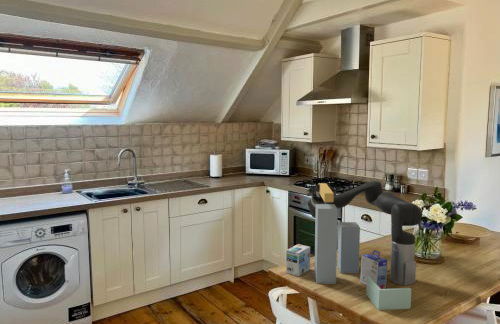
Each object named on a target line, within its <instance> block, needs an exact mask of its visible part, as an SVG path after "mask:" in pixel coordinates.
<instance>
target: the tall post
mask: <svg viewBox="0 0 500 324" xmlns="http://www.w3.org/2000/svg"><path fill="white" fill-rule="evenodd" d="M338 211H339V210H338V209H337V207H336V206H335V204H316V217H315V218H314V219H315V224H314V225H315V228H314V229H315V230H314V231H315V232H314V278H315V282H316V284H328V285H329V284H331V285H332V284H335V285H336V284H337V258H338Z"/></svg>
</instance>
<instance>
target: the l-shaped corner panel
mask: <svg viewBox="0 0 500 324" xmlns="http://www.w3.org/2000/svg"><path fill="white" fill-rule="evenodd" d="M365 295H366V296H367V297H368V299H369V300H370V301H371V303H372V304H373V305H374V306H375V307H376V309H377V310H378V311H386V310H405V309H406V310H409V309H411V306H412V305H411V303H412V288H411V287H403V288H402V287H401V288H398V287H397V288H386V289H380V287H379V286H378V285H377V284H376V283H375V282H374V281H373V280H372V279H371V278H370V277H367V285H366V294H365Z"/></svg>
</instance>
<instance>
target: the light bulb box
mask: <svg viewBox="0 0 500 324" xmlns="http://www.w3.org/2000/svg"><path fill="white" fill-rule="evenodd" d="M285 255H286V265H285V266H286V274H289V275H293V276H297V277H300V276H301V275H303V274H305V273H306V272H308V271H310V270H311V246H308V245H303V244H300V243H298V244H296V245H294V246H292V247H290V248H288V249H286V254H285Z"/></svg>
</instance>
